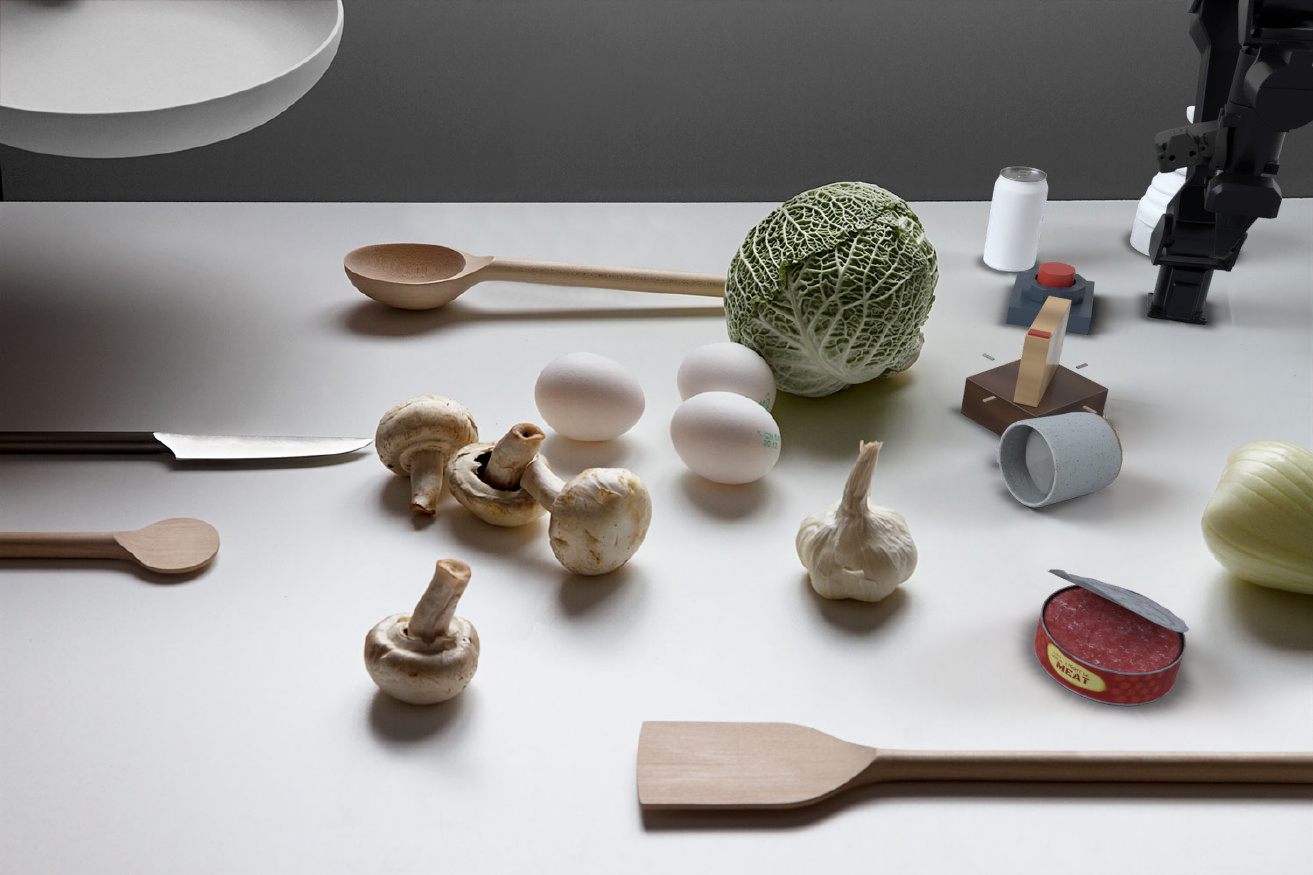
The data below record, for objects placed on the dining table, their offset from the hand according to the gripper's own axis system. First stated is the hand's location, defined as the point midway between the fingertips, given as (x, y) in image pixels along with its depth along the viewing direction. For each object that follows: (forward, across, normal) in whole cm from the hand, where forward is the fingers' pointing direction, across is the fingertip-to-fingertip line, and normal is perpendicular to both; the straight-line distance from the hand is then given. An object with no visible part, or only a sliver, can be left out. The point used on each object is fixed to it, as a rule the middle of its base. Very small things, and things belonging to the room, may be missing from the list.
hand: (1219, 255), depth 117 cm
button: (+8, -7, -16) cm, 19 cm away
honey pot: (+12, -35, -2) cm, 37 cm away
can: (+12, -20, -22) cm, 32 cm away
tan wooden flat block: (+8, +20, -15) cm, 26 cm away
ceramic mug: (+12, +31, -12) cm, 36 cm away
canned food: (+13, +53, -5) cm, 55 cm away
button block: (+12, -8, -16) cm, 21 cm away
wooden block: (+12, +20, -15) cm, 27 cm away
